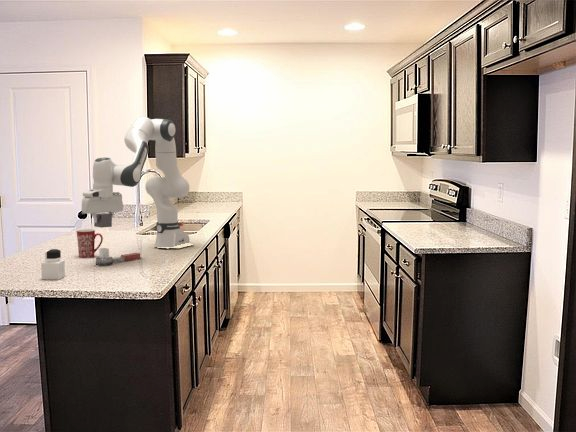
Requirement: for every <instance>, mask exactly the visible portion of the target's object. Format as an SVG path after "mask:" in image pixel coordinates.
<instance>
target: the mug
mask: <svg viewBox="0 0 576 432" xmlns="http://www.w3.org/2000/svg"><path fill="white" fill-rule="evenodd" d="M75 232H76V237H77V249H78V250H77V251H78V257H79V258H83V259H85V258H86V259H87V258H93V257H94V256H95V253H96V252H97V251H98V249H100V248H101V245H102V243H103V239H104V237H103V235H102V234H101V233H100V232H99V233H97V232H96V229H94V228H82V229H80V228H79V229H76V231H75ZM97 236H98V237H100V242H99V244H98V245H97V247H96V248H95V242H96V241H95V239H96V237H97Z"/></svg>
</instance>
